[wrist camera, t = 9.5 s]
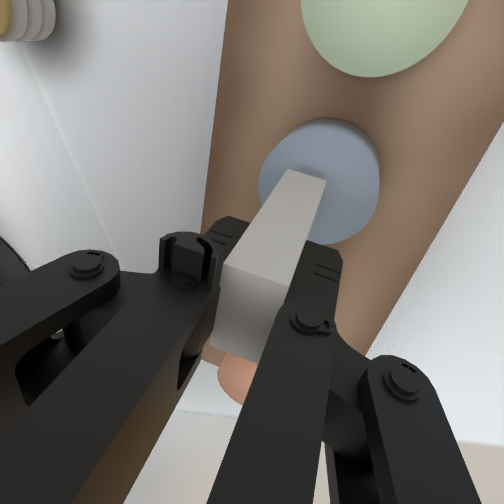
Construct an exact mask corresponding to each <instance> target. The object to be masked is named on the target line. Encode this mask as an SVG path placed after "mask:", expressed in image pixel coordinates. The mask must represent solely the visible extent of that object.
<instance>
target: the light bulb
mask: <svg viewBox="0 0 504 504" xmlns="http://www.w3.org/2000/svg"><path fill="white" fill-rule="evenodd" d="M55 22H56V10H55V4H54V0H0V41H2V42H9V41H41V40H44V39H45V38H47V37H49V35H50V34H51V33H52V31H53V29H54V26H55Z"/></svg>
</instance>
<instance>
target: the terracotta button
mask: <svg viewBox="0 0 504 504" xmlns="http://www.w3.org/2000/svg"><path fill="white" fill-rule="evenodd" d="M257 366H258V364H256V363H254V362H251V361H249V360H246V359H243V358H241V357H238V356H236V355H233V354H231V353H228V352H227V353H226V355H225V357H224V359H223V361H222V363H221V365H220V367H219V369H218V374H217V375H218V381H219V383H220V385H221V387H222V388H223V390H224V391H225V392H226V393H227V394H228V395H229V396H230V397H231V398H232V399H234V400H235V401H236V402H238V403H240V404H241V405H243V404H244V401H245V398H246V396H247V393H248V390H249V387H250V385H251V382H252V379H253V377H254V374H255V371H256V369H257Z"/></svg>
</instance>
